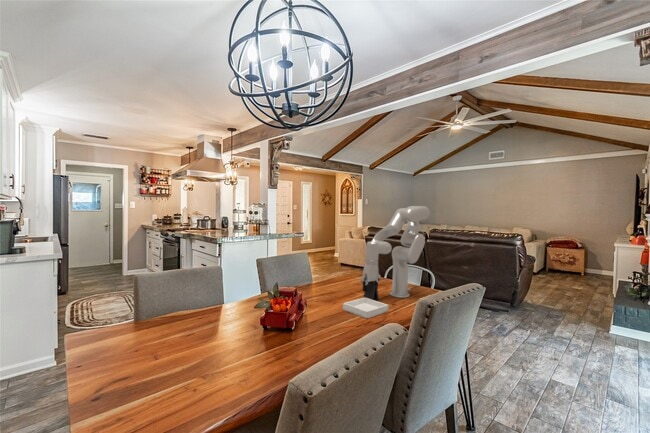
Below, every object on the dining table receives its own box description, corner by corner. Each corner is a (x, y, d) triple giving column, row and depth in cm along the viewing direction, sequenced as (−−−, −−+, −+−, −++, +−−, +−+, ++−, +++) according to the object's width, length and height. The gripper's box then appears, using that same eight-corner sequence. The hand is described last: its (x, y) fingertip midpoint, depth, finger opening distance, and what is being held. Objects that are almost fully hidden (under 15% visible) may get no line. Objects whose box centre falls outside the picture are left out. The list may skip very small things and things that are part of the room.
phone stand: (371, 303, 177) (371, 283, 176) (362, 301, 180) (363, 281, 180) (378, 300, 183) (379, 280, 183) (370, 297, 187) (371, 278, 187)
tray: (364, 303, 176) (364, 297, 176) (388, 311, 164) (388, 304, 164) (342, 309, 164) (343, 303, 164) (366, 318, 152) (367, 312, 152)
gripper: (375, 260, 190) (374, 287, 190) (357, 262, 178) (355, 290, 178) (385, 262, 184) (384, 289, 184) (367, 264, 172) (365, 293, 173)
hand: (370, 290), depth 181 cm, fingers open, 9 cm apart
